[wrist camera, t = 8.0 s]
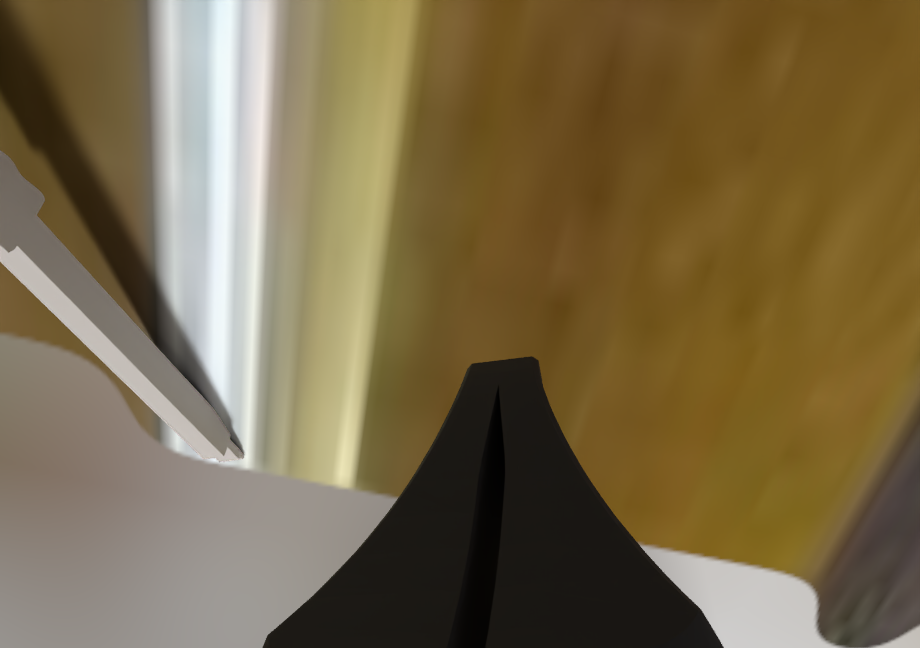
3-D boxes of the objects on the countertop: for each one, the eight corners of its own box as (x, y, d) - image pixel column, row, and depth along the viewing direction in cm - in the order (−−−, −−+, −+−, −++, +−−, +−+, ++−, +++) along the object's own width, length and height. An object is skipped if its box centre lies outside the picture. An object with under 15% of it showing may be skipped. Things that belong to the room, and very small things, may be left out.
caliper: (-100, -27, 19) (-320, 24, 14) (-69, -38, 19) (-282, 10, 14) (226, 454, 30) (170, 577, 25) (248, 450, 30) (196, 574, 25)
